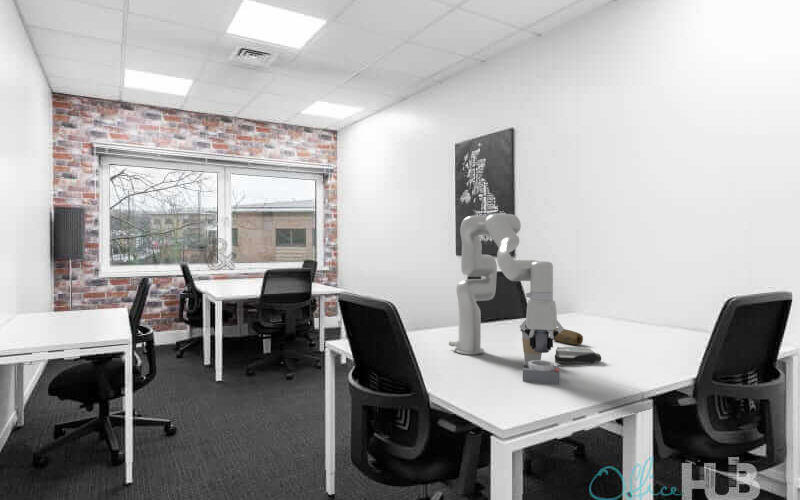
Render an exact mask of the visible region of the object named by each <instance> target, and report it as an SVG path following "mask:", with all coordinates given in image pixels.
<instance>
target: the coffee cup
mask: <svg viewBox="0 0 800 500" xmlns="http://www.w3.org/2000/svg"><path fill="white" fill-rule="evenodd" d="M525 327H526V328H527V326H526V325H525ZM527 329H528V328H527ZM528 330H529V331H530V330H531V329H528ZM520 332H521V333H522V338H521V340H522V348H523V350H522V351H523V355H524V363H528V362H529V361H532V360H542V355H543V353H539V352H535V351H534V349H532V346H530V337H529V336H528V335H527V334H526V333H525V332H524V331H523V330H522V329H521V328H520ZM533 335H534V333H533Z"/></svg>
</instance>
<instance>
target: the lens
mask: <svg viewBox="0 0 800 500" xmlns="http://www.w3.org/2000/svg"><path fill="white" fill-rule="evenodd" d="M549 336H550V335H549V331H547V330H534V351H535V352H539V353H542V354H546V353H549V352H550V350H549Z"/></svg>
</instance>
